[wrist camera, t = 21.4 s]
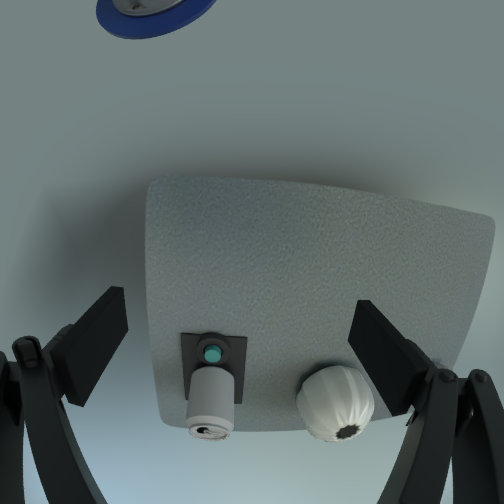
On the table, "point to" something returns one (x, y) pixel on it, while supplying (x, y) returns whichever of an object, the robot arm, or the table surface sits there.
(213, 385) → the can
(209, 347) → the button
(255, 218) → the table surface
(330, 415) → the vase
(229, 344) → the scale
